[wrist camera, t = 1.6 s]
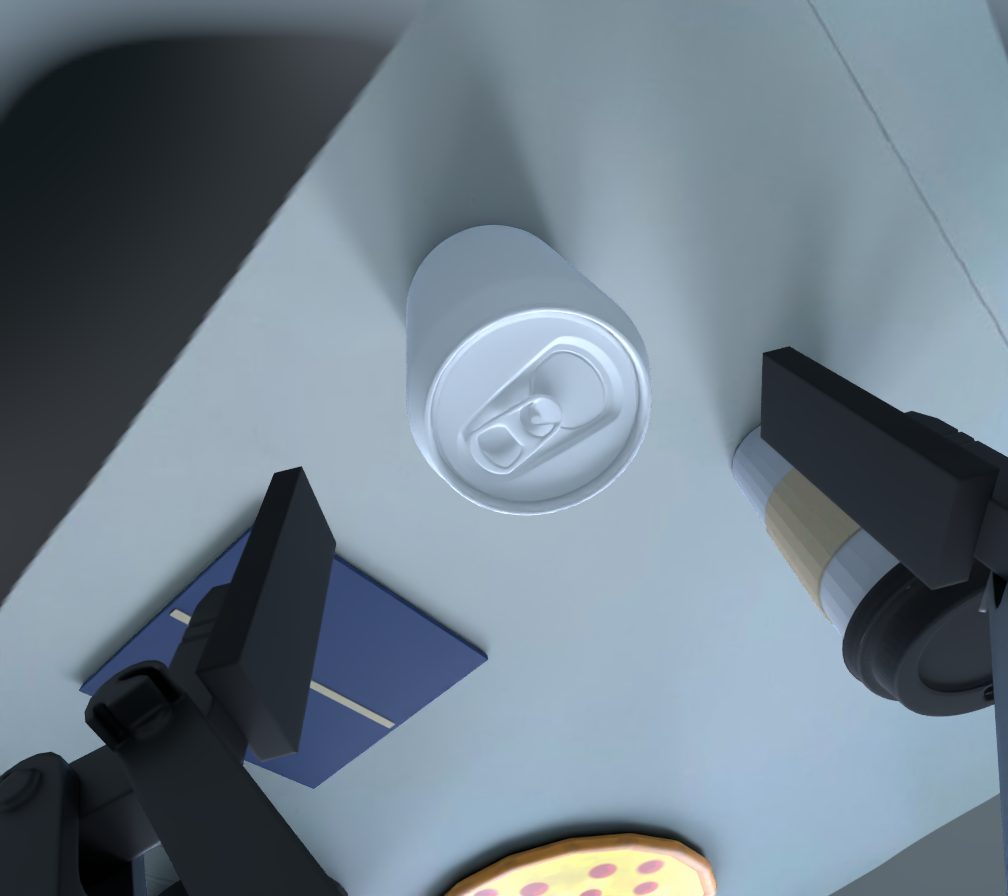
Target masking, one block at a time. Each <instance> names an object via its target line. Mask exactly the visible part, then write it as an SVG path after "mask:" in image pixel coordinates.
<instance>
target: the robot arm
mask: <svg viewBox="0 0 1008 896" xmlns="http://www.w3.org/2000/svg"><path fill="white" fill-rule="evenodd" d="M760 437H761V438H762V439H763V440H764V441H765V442H766V443H767V444H768V445H770V446H771V447H772V448H773V449H774V450H775V451H776V452H777V453H779V454H780V455H781V456H782V457H783V458H784V459H785V460H786V461H788V462H789V463H790V464H791V465H792V466H793V467H794V468H795V469H797V470H798V471H799V472H800V473H801V474H802V475H803V476H804V477H805V478H807V479H808V480H809V481H810V482H811V483H812V484H813V485H814V486H816V487H817V488H818V489H819V490H820V491H821V492H822V493H823V494H825V495H826V496H827V497H828V498H829V499H830V500H831V501H832V502H834V503H835V504H836V505H837V506H838V507H839V508H840V509H841V510H843V511H844V512H845V513H846V514H847V515H848V516H849V517H850V518H851V519H853V520H854V521H855V522H856V523H857V524H858V525H859V526H860V527H862V528H863V529H864V530H865V531H866V532H867V533H868V534H869V535H871V536H872V537H873V538H874V539H875V540H876V541H877V542H878V543H880V544H881V545H882V546H883V547H884V548H885V549H886V550H887V551H888V552H890V553H891V554H892V555H893V556H894V557H895V558H896V559H897V560H899V561H900V562H901V563H902V564H903V565H904V566H905V567H906V568H908V569H909V570H910V571H911V572H912V573H913V574H914V575H915V576H917V577H918V578H919V579H920V580H921V581H922V582H923V583H924V584H926V585H927V586H928V587H929V588H930V589H931V590H935V589H938V588H942V587H946V586H950V585H954V584H958V583H962V582H966V581H968V579H969V576H970V572H971V569H972V565H973V562H974V558H976V559H977V560H979V561H980V562H981V563H983V564H984V565H985V566H986V567H988V568H989V569H990V570H991V572H990V576H989V579H988V582H987V585H986V589H985V592H984V595H983V598H982V601H981V605H980V608H979V611H980V612H984V613H986V610H987V608H988V609H989V625H990V640H991V656H992V672H993V687H994V703H995V719H996V734H997V750H998V766H999V782H1000V797H1001V812H1002V828H1003V844H1004V859H1005V876H1006V891H1007V896H1008V457H1006V456H1005V455H1003V454H1001V453H999V452H997V451H996V450H994V449H992V448H990V447H988V446H987V445H985V444H983V443H981V442H979V441H974V438H972V437H970V436H968V435H967V434H965V433H963V432H958V429H956V428H954V427H952V426H950V425H949V424H947V423H945V422H943V421H941V420H940V419H938V418H934V417H931V416H928V415H924V414H921V413H917V412H914V411H910V412H906V413H903V412H901V411H900V410H898V409H896V408H894V407H893V406H891V405H889V404H888V403H886V402H884V401H882V400H881V399H879V398H877V397H876V396H874V395H872V394H870V393H869V392H867V391H865V390H864V389H862V388H860V387H858V386H857V385H855V384H853V383H851V382H850V381H848V380H846V379H845V378H843V377H841V376H839V375H838V374H836V373H834V372H833V371H831V370H829V369H827V368H826V367H824V366H822V365H821V364H819V363H817V362H815V361H814V360H812V359H810V358H809V357H807V356H805V355H803V354H802V353H800V352H798V351H796V350H795V349H793V348H791V347H790V346H789V347H785V348H781V349H776V350H772V351H768V352H764V353H763V366H762V398H761V431H760ZM335 547H336V541H335V539H334V537H333V534H332V532H331V530H330V528H329V526H328V523H327V521H326V519H325V517H324V515H323V512H322V510H321V508H320V506H319V504H318V501H317V499H316V497H315V495H314V492H313V490H312V488H311V486H310V484H309V481H308V479H307V477H306V475H305V473H304V470H303V468H302V466H301V467H297V468H293V469H289V470H285V471H281V472H276V473H274V475H273V477H272V480H271V482H270V485H269V487H268V490H267V492H266V495H265V497H264V500H263V502H262V505H261V507H260V510H259V513H258V515H257V518H256V520H255V523H254V525H253V528H252V530H251V533H250V535H249V538H248V540H247V543H246V545H245V548H244V550H243V553H242V555H241V558H240V560H239V563H238V565H237V568H236V570H235V573H234V575H233V578H232V580H231V583H227V584H223V585H219V586H215V587H212V588H211V590H210V591H209V592H208V593H207V594H206V595H205V596H204V597H203V599H202V600H201V601H200V602H199V603H198V604H197V605H196V608H195V610H194V612H193V614H192V617H191V619H190V621H189V623H188V625H189V627H187V628H186V630H185V632H184V634H183V636H182V639H181V640H182V643H179V645H178V648H177V650H176V652H175V654H174V656H173V659H172V661H171V663H170V665H169V668H168V667H167V666H166V665H165V664H164V663H162V662H160V661H158V660H145V661H142V662H139V663H136V664H133V665H130V666H129V667H127V668H125V669H123V670H122V671H120V672H118V673H116V674H115V675H114V676H112V677H111V678H110V679H109V680H108V681H106V682H105V683H104V684H103V685H102V686H101V687H100V688H99V689H98V690H97V692H96V693H95V694H94V695H93V696H92V698H91V699H90V701H89V703H88V705H87V708H86V710H85V722H86V723H87V724H88V725H89V727H90V728H91V729H92V730H93V731H94V732H95V733H96V734H97V735H98V736H99V737H100V738H101V739H102V740H103V742H104V743H105V744H106V745H105V746H103V747H101V748H99V749H97V750H95V751H93V752H91V753H89V754H87V755H85V756H83V757H81V758H79V759H77V760H75V761H73V762H71V763H69V764H68V763H67V762H66V761H65V760H64V759H63V758H62V757H61V756H60V755H57V754H55V753H53V752H47V753H40V754H36V755H34V756H32V757H29V758H27V759H25V760H23V761H21V762H19V763H18V764H16V765H15V766H13V767H12V768H11V769H9V770H8V771H6V772H5V773H4V774H3V775H1V776H0V896H147V889H146V878H145V867H144V856H143V854H144V853H145V852H147V851H149V850H151V849H152V848H154V847H156V846H158V845H159V844H162V846H163V848H164V850H165V851H166V853H167V855H168V857H169V859H170V861H171V863H172V865H173V867H174V869H175V870H176V872H177V874H178V876H179V878H180V880H181V882H182V884H183V886H184V887H185V889H186V891H187V893H188V895H189V896H343V895H342V894H341V893H340V891H339V890H338V889H337V887H336V886H335V885H334V883H333V882H332V881H331V880H330V878H329V877H328V876H327V874H326V873H325V872H324V870H323V869H322V868H321V867H320V865H319V864H318V863H317V861H316V860H315V859H314V857H313V856H312V855H311V854H310V852H309V851H308V850H307V848H306V847H305V846H304V844H303V843H302V842H301V841H300V839H299V838H298V837H297V835H296V834H295V833H294V831H293V830H292V829H291V828H290V826H289V825H288V824H287V822H286V821H285V820H284V818H283V817H282V816H281V815H280V813H279V812H278V811H277V809H276V808H275V807H274V805H273V804H272V803H271V802H270V800H269V799H268V798H267V796H266V795H265V794H264V792H263V791H262V790H261V789H260V787H259V786H258V785H257V783H256V782H255V781H254V779H253V778H252V777H251V776H250V774H249V773H248V772H247V770H246V769H245V768H244V766H243V762H244V758H245V754H246V750H247V747H249V748H250V749H251V751H252V752H253V754H254V755H255V756H256V758H257V759H258V761H259V762H264V761H268V760H272V759H276V758H280V757H284V756H288V755H292V754H295V753H298V750H299V744H300V739H301V733H302V728H303V722H304V717H305V711H306V706H307V700H308V695H309V690H310V684H311V679H312V673H313V668H314V662H315V657H316V651H317V646H318V640H319V635H320V629H321V624H322V618H323V613H324V607H325V602H326V597H327V591H328V586H329V580H330V575H331V569H332V564H333V558H334V553H335Z"/></svg>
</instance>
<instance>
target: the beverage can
mask: <svg viewBox="0 0 1008 896" xmlns="http://www.w3.org/2000/svg"><path fill="white" fill-rule="evenodd" d="M406 402H407V414H408V419H409V424H410V428H411V431H412V434H413V436H414V439H415V441H416V443H417V446H418V447H419V449H420V451H421V453H422V454H423V456H424V458H425V459H426V460H427V462H428V463H429V464H430V466H431V467H432V468H433V469H434V470H435V471H436V472H437V473H438V474H439V475H440V476H441V477H442V478H443V479H444V480H445V481H446V482H447V483H448V484H449V485H450V486H451V487H452V488H453V489H454V490H456V491H457V492H458V493H459V494H461V495H462V496H463V497H465V498H466V499H468V500H470V501H472V502H473V503H475V504H477V505H480V506H482V507H484V508H487V509H490V510H493V511H497V512H501V513H506V514H514V515H539V514H546V513H552V512H556V511H560V510H563V509H567V508H569V507H572V506H575V505H577V504H579V503H581V502H584V501H586V500H587V499H589V498H591V497H593V496H594V495H596V494H597V493H599V492H600V491H602V490H603V489H605V488H606V487H607V486H608V485H610V484H611V483H612V482H613V481H614V480H615V479H616V478H617V477H618V476H619V475H620V474H621V473H622V472H623V471H624V470H625V469H626V467H627V466H628V465H629V464H630V462H631V461H632V459H633V458H634V456H635V455H636V453H637V451H638V450H639V448H640V446H641V444H642V442H643V439H644V437H645V434H646V431H647V428H648V425H649V420H650V415H651V406H652V392H651V371H650V363H649V358H648V354H647V351H646V348H645V345H644V342H643V340H642V338H641V336H640V334H639V332H638V330H637V328H636V327H635V325H634V323H633V322H632V320H631V319H630V318H629V316H628V315H627V314H626V313H625V312H624V311H623V310H622V309H621V307H619V306H618V305H617V304H616V303H615V302H614V301H613V300H612V299H611V298H609V297H608V296H607V295H606V294H605V293H604V292H602V291H601V290H600V289H599V288H598V287H597V286H595V285H594V284H593V283H592V282H591V281H590V280H588V279H587V278H586V277H585V276H584V275H583V274H581V273H580V272H579V271H578V270H577V269H576V268H574V267H573V266H572V265H571V264H570V263H569V262H567V261H566V260H565V259H564V258H563V257H561V256H560V255H559V254H558V253H557V252H556V251H554V250H553V249H552V248H551V247H550V246H549V245H547V244H546V243H545V242H544V241H542V240H541V239H539V238H538V237H536V236H534V235H532V234H531V233H528V232H526V231H524V230H521V229H518V228H514V227H510V226H503V225H484V226H477V227H473V228H469V229H466V230H463V231H461V232H458V233H456V234H454V235H452V236H451V237H449V238H447V239H446V240H444V241H443V242H441V243H440V244H439V245H438V246H437V247H435V248H434V249H433V250H432V251H431V252H430V253H429V254H428V256H427V257H426V258H425V259H424V261H423V262H422V263H421V265H420V266H419V268H418V270H417V272H416V274H415V276H414V278H413V280H412V283H411V286H410V289H409V293H408V298H407V307H406Z"/></svg>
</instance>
